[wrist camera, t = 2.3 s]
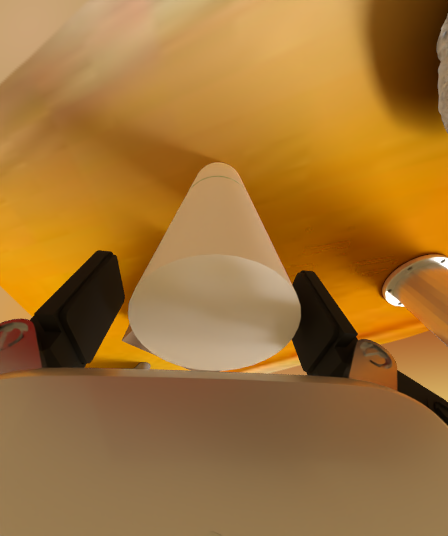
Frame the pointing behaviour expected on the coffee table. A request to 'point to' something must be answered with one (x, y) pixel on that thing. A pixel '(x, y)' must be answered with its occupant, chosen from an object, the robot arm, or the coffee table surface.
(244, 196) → the cylindrical container
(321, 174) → the coffee table surface
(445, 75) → the stone bowl
